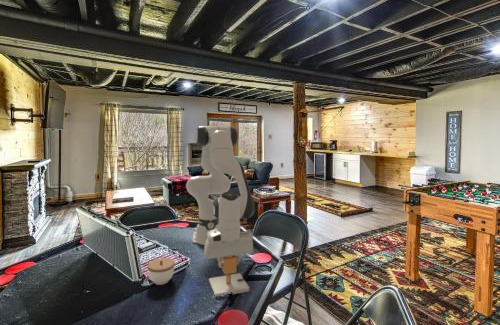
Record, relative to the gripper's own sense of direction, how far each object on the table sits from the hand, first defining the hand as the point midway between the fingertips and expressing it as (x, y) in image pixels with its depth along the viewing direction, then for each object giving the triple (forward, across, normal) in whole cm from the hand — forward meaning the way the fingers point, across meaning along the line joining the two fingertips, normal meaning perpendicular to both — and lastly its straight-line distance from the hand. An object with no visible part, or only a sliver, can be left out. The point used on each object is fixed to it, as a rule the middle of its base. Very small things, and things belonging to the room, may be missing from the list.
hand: (228, 265), depth 110 cm
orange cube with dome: (+2, 0, 0) cm, 2 cm away
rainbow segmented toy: (+10, -4, -17) cm, 20 cm away
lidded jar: (+9, +26, -13) cm, 31 cm away
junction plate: (+9, 0, 0) cm, 9 cm away
